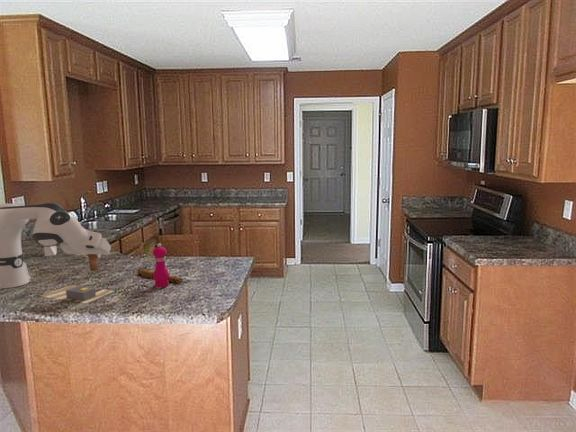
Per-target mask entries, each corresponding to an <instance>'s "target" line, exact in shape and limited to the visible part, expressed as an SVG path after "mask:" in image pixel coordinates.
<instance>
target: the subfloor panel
mask: <svg viewBox="0 0 576 432" xmlns="http://www.w3.org/2000/svg"><path fill="white" fill-rule="evenodd" d="M76 286H77V285H73V284H69V285H67V286H64V287H62V288H59V289H56V290H53V291H51V292H48V293H46V294H43V295H40V297H42V298H48V299H55V300H60V301H68V302H74V303H80V304H81V303H82V304H89V303H91V302H92V301H95V300H97V299H100V298H102V297H104V296H107V295H109V294H112V293H113V292H115V290H111V289H103V288H95V293H96V296H95V297H93V298H90V299H88V300H86V301H82V300H76V299H69V298H67V296H66V290H68V289H71V288H73V287H76Z"/></svg>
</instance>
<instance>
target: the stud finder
mask: <svg viewBox="0 0 576 432" xmlns="http://www.w3.org/2000/svg"><path fill="white" fill-rule="evenodd" d="M75 286H76V287H73V288H71V289H68V290H66V296H67V298H69V299H76V300H82V301H86V300H88V299H90V298H93V297H95V296H96V293H95V288H94V287H88V286H79V285H75Z"/></svg>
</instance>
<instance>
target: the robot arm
mask: <svg viewBox="0 0 576 432" xmlns="http://www.w3.org/2000/svg"><path fill="white" fill-rule="evenodd" d="M35 219H36V221H35V224H34V226H33V227H34V228H33V231H32V234H31V235H32V236H31V237H32V240H33V241H34V242H35V243H36V244H38V245H40V246H41V247H44V246H45V247H51V246H55V245H56V246H57V245H59V247H60V248H61V250H62V251H63V253H65V254H67V255H81V256H84V257H85V258H88V259H89V255H88V254H96V255H95V257H96V258H97V259H100V258H101V256H102V255H109V254H110V252H111V249H112V246H111V244H110V243H109V241H108V242H107V239H105V238H104V237H101V236H102V234H101V233H100V232H96V231H92V230H88V229H86V228H85V227H83V226H82V224H81V223H80V221H79V220H78V219H77V218H76V217H75V216H73V215H72V214H71V213H70V212H68V211H66V209H65V208H64V206H62V205H61V204H59V203H57V202H45V203H40V204H32V205H31V204H29V205H27V204H26V205H21V204H19V203H1V202H0V290H1V289H2V288H3V289H11V288H15V287H19V286H23V285H26V284H28V283H29V282H30V280H31V279H32V277H31V276H30V275H29V272H28V266H27V264H26V262H25V256H24V253H23V251H22V250H23V249H22V234H23V229H24V228H25V226H26V225H27V224H28V223H29V221H30V220H35Z"/></svg>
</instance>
